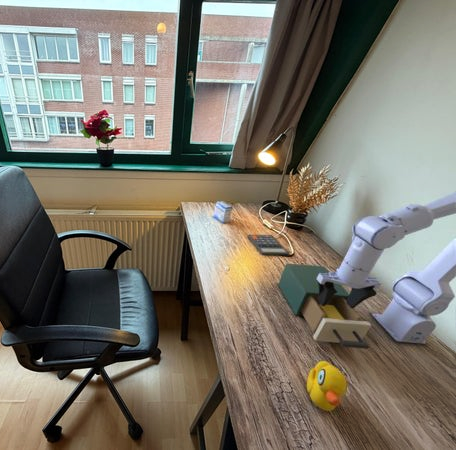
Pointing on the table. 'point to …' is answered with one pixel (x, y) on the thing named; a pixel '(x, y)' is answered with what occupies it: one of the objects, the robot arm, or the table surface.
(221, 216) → the medicine box
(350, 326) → the drawer
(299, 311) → the cabinet
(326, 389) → the duckling
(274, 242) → the calculator
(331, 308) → the block
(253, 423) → the table surface
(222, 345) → the table surface
